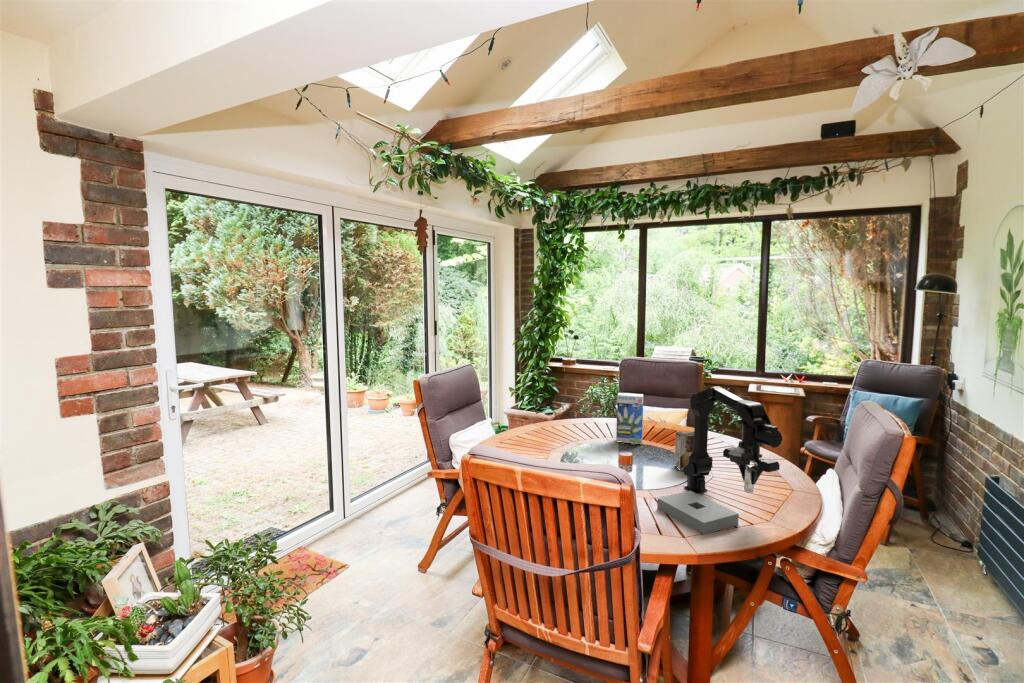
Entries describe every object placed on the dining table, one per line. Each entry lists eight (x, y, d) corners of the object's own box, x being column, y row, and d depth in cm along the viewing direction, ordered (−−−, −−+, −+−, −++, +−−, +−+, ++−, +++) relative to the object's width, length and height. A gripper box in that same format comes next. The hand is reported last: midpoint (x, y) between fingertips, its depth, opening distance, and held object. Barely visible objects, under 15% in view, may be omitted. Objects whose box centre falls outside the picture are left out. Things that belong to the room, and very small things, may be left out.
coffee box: (693, 465, 229) (695, 431, 227) (699, 470, 223) (700, 435, 221) (674, 466, 229) (675, 431, 227) (679, 471, 222) (680, 435, 221)
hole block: (657, 508, 184) (657, 498, 183) (689, 500, 191) (690, 490, 190) (703, 534, 164) (704, 522, 164) (738, 524, 171) (738, 513, 171)
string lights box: (615, 443, 263) (616, 394, 261) (617, 439, 271) (618, 392, 268) (641, 445, 260) (643, 396, 257) (642, 441, 267) (643, 393, 264)
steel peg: (742, 490, 175) (743, 465, 175) (748, 489, 177) (749, 464, 176) (749, 493, 173) (750, 468, 172) (755, 492, 174) (756, 467, 173)
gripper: (712, 435, 178) (711, 477, 179) (758, 450, 161) (756, 496, 163) (735, 431, 183) (733, 472, 184) (781, 445, 166) (779, 490, 167)
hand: (749, 482), depth 174 cm, fingers closed on steel peg, 3 cm apart
